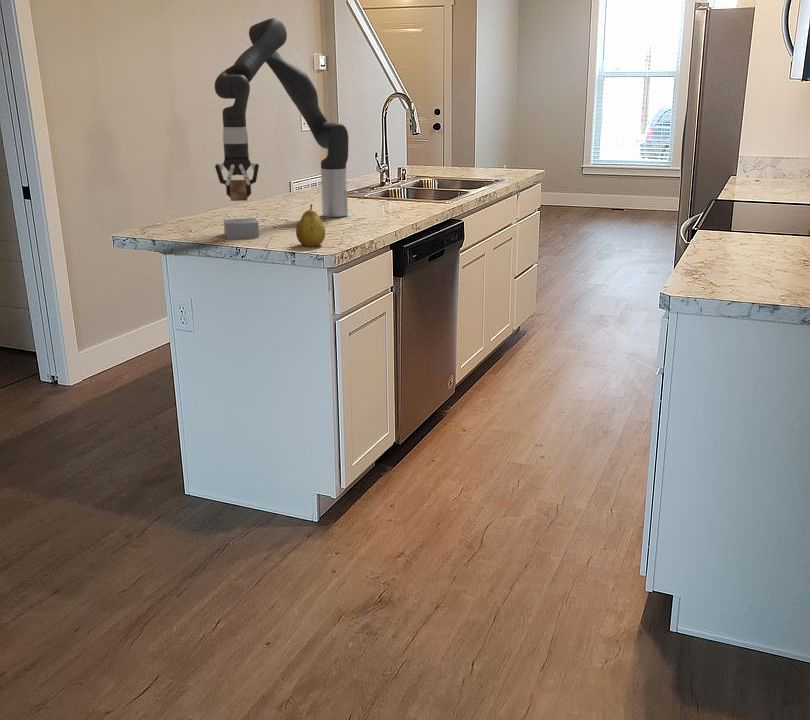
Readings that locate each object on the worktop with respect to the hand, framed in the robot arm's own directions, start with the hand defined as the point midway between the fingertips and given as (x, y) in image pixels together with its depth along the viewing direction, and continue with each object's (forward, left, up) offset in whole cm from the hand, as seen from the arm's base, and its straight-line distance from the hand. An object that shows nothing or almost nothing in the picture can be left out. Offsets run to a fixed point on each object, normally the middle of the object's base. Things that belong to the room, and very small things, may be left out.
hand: (239, 196), depth 267 cm
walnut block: (0, 0, -1) cm, 1 cm away
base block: (0, 0, -13) cm, 13 cm away
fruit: (-22, +21, -13) cm, 33 cm away
